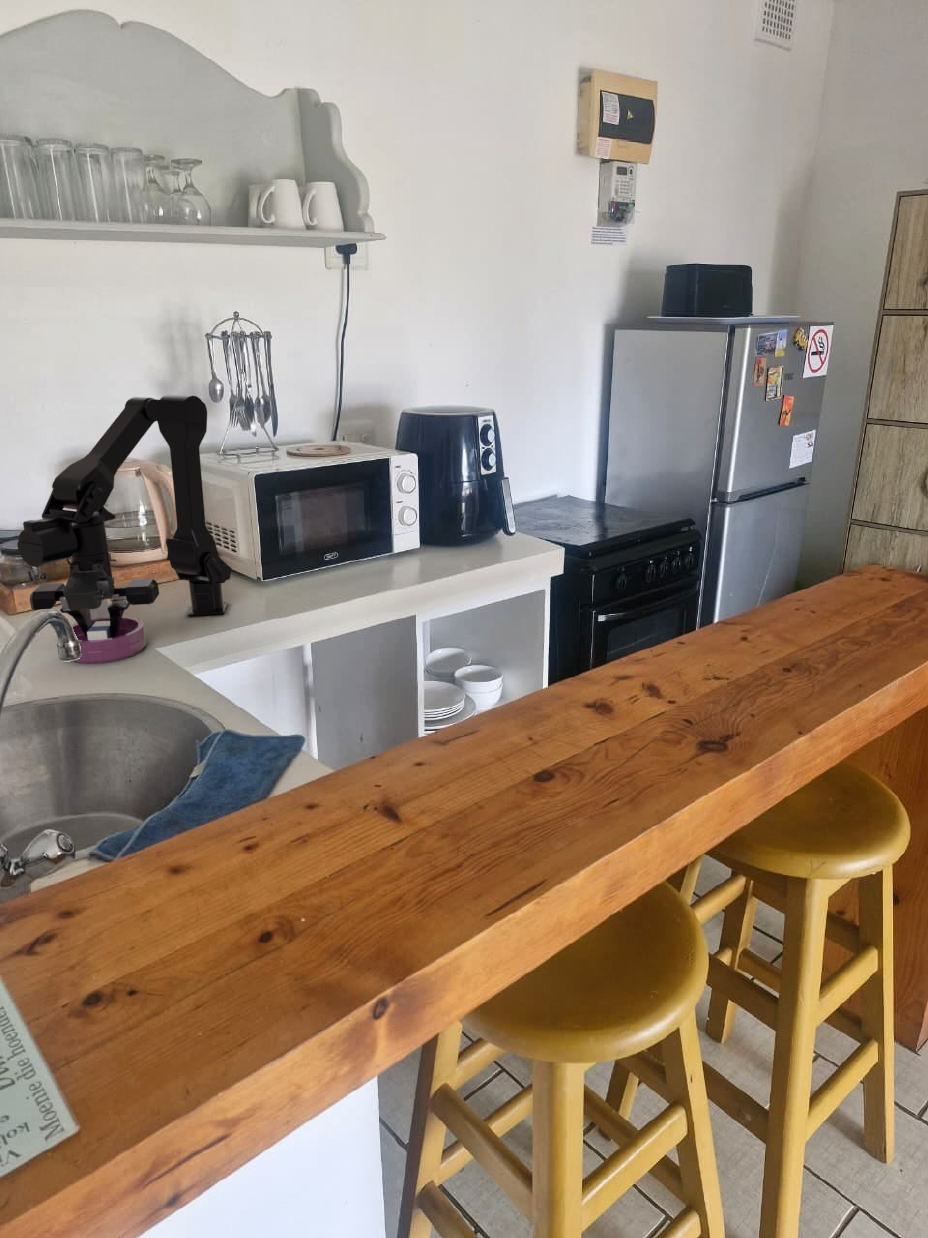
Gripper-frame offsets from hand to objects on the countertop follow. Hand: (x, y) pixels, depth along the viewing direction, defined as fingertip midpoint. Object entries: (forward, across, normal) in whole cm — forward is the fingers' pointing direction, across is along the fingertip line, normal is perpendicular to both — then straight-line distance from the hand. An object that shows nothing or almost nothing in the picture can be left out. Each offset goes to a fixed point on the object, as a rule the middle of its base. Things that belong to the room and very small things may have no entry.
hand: (103, 643), depth 143 cm
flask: (+2, -5, +15) cm, 16 cm away
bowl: (+2, 0, +1) cm, 2 cm away
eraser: (+1, 0, 0) cm, 1 cm away
